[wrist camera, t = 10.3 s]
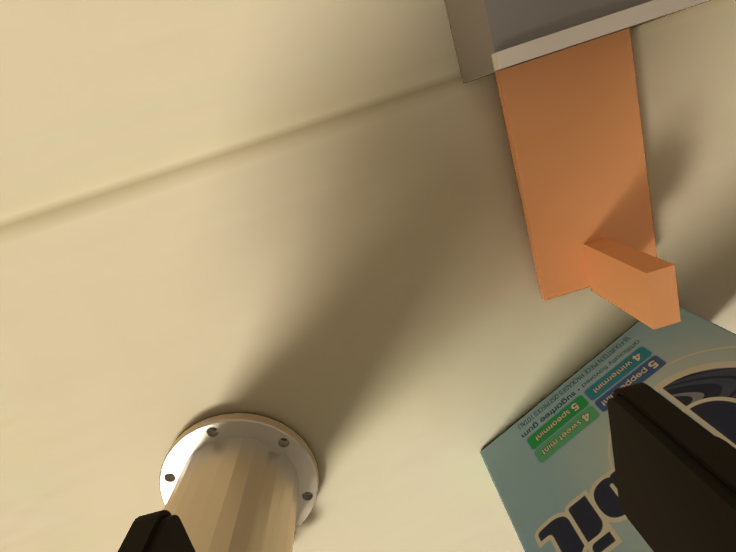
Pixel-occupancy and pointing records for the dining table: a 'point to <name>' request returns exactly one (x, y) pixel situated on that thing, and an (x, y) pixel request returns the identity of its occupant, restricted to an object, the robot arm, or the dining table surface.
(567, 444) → the teal product box
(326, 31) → the dining table surface
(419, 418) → the dining table surface
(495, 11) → the grey boxy piece
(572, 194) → the orange stepped block
